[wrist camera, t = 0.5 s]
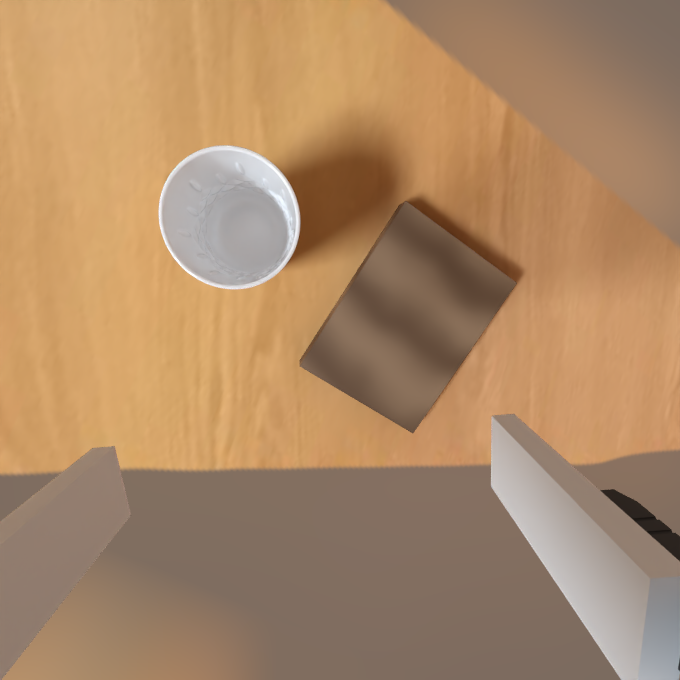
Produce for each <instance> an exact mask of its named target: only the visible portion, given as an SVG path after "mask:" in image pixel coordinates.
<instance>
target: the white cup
mask: <svg viewBox="0 0 680 680" xmlns="http://www.w3.org/2000/svg"><path fill="white" fill-rule="evenodd" d="M159 223H160V228H161V232H162V236H163V239H164V241H165V244H166V246H167V248H168V249H169V251H170V253H171V254H172V256H173V257H174V259H175V260H176V261H177V262H178V264H179V265H180V266H181V267H182V268H183V269H184V270H186V271H187V272H188V273H189V274H191V275H192V276H193V277H195V278H197V279H198V280H200V281H202V282H204V283H206V284H209V285H212V286H215V287H219V288H224V289H245V288H250V287H254V286H257V285H259V284H262V283H264V282H266V281H268V280H269V279H271V278H272V277H274V276H275V275H276V274H278V273H279V272H280V271H281V270H282V269H283V268H284V267H285V265H286V264H287V263H288V261H289V260H290V258H291V257H292V255H293V253H294V251H295V248H296V246H297V243H298V239H299V234H300V210H299V205H298V201H297V198H296V195H295V193H294V191H293V189H292V187H291V185H290V183H289V181H288V180H287V178H286V177H285V176H284V174H283V173H282V172H281V171H280V170H279V169H278V168H277V167H276V166H275V165H274V164H273V163H272V162H271V161H269V160H268V159H266V158H265V157H263V156H262V155H260V154H258V153H256V152H254V151H251V150H249V149H246V148H242V147H237V146H229V145H221V146H212V147H208V148H204V149H202V150H199V151H197V152H195V153H193V154H191V155H189V156H188V157H186V158H185V159H184V160H182V161H181V162H180V163H179V164H178V165H177V166H176V167H175V168H174V170H173V171H172V172H171V174H170V175H169V177H168V179H167V180H166V182H165V185H164V187H163V190H162V193H161V197H160V202H159Z"/></svg>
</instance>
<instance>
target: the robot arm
mask: <svg viewBox="0 0 680 680" xmlns="http://www.w3.org/2000/svg"><path fill="white" fill-rule="evenodd" d="M491 487H492V488H493V490H494V491H495V493H496V494H497V496H498V497H499V498H500V500H501V502H502V503H503V505H504V506H505V508H506V509H507V511H508V512H509V514H510V515H511V517H512V518H513V520H514V521H515V523H516V524H517V526H518V527H519V528H520V530H521V531H522V533H523V534H524V536H525V537H526V539H527V540H528V542H529V543H530V545H531V546H532V548H533V549H534V551H535V552H536V554H537V555H538V557H539V558H540V560H541V561H542V563H543V564H544V566H545V567H546V568H547V570H548V572H549V573H550V575H551V576H552V578H553V579H554V580H555V582H556V583H557V585H558V586H559V588H560V589H561V591H562V592H563V594H564V595H565V597H566V598H567V600H568V601H569V603H570V604H571V606H572V607H573V609H574V610H575V612H576V613H577V615H578V616H579V617H580V619H581V621H582V622H583V624H584V625H585V627H586V628H587V629H588V631H589V632H590V634H591V635H592V637H593V638H594V640H595V641H596V643H597V644H598V646H599V647H600V648H601V650H602V652H603V653H604V655H605V656H606V658H607V659H608V661H609V662H610V664H611V665H612V667H613V668H614V669H615V671H616V672H617V674H618V675H619V677H620V678H621V680H679V674H680V536H679V535H677V534H676V533H672V531H671V529H670V528H669V527H668V526H666V525H665V524H664V523H662V522H661V521H660V520H657V519H656V518H655V516H654V515H653V514H651V513H650V512H649V511H648V510H647V509H646V508H644V507H643V506H642V505H641V504H639V503H638V502H637V501H635V500H633V499H631V498H629V497H627V496H625V495H623V494H621V493H619V492H617V491H616V490H613V489H612V490H599V489H598V488H597V487H595V486H594V485H593V484H592V483H591V482H590V481H589V480H587V479H586V478H585V477H584V476H583V475H582V474H581V473H580V472H578V471H577V470H576V469H575V468H574V467H573V466H572V465H571V464H570V463H568V462H567V461H566V460H565V459H564V458H563V457H562V456H561V455H560V454H558V453H557V452H556V451H555V450H554V449H553V448H552V447H551V446H549V445H548V444H547V443H546V442H545V441H544V440H543V439H542V438H540V437H539V436H538V435H537V434H536V433H535V432H534V431H533V430H531V429H530V428H529V427H528V426H527V425H526V424H525V423H524V422H522V421H521V420H520V419H519V418H518V417H517V416H516V415H515V414H507V415H495V416H492V441H491ZM130 516H131V513H130V509H129V505H128V501H127V497H126V492H125V488H124V484H123V480H122V475H121V471H120V467H119V463H118V458H117V454H116V450H115V446H112V447H100V448H92V449H91V450H90V451H88V452H87V453H86V454H85V455H83V456H82V457H81V458H80V459H78V460H77V461H76V462H75V463H73V464H72V465H71V466H70V467H68V468H67V469H66V470H65V471H63V472H62V473H61V474H60V475H58V476H57V477H56V478H54V479H53V480H52V481H51V482H49V483H48V484H47V485H46V486H44V487H43V488H42V489H41V490H39V491H38V492H37V493H36V494H34V495H33V496H32V497H31V498H29V499H28V500H27V501H26V502H24V503H23V504H22V505H21V506H19V507H18V508H17V509H16V510H14V511H13V512H12V513H11V514H9V515H8V516H7V517H5V518H4V519H3V520H2V521H1V522H0V680H2V678H3V677H4V676H5V675H6V673H7V672H8V671H9V669H10V668H11V667H12V666H13V664H14V663H15V662H16V661H17V659H18V658H19V657H20V656H21V654H22V653H23V652H24V650H25V649H26V648H27V647H28V645H29V644H30V643H31V642H32V640H33V639H34V638H35V636H36V635H37V634H38V633H39V631H40V630H41V629H42V628H43V626H44V625H45V624H46V622H47V621H48V620H49V619H50V617H51V616H52V615H53V614H54V612H55V611H56V610H57V608H58V607H59V606H60V604H61V603H62V602H63V601H64V600H65V598H66V597H67V596H68V594H69V593H70V592H71V591H72V589H73V588H74V587H75V586H76V584H77V583H78V582H79V581H80V579H81V578H82V577H83V575H84V574H85V573H86V572H87V570H88V569H89V568H90V567H91V565H92V564H93V563H94V561H95V560H96V559H97V558H98V556H99V555H100V554H101V553H102V551H103V550H104V549H105V547H106V546H107V545H108V544H109V542H110V541H111V540H112V539H113V537H114V536H115V535H116V533H117V532H118V531H119V530H120V528H121V527H122V526H123V525H124V523H125V522H126V521H127V519H128V518H129V517H130Z"/></svg>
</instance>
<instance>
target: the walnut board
mask: <svg viewBox="0 0 680 680" xmlns="http://www.w3.org/2000/svg"><path fill="white" fill-rule="evenodd" d="M516 284H517V283H516V282H515V281H513V280H512V279H511V278H509V277H508V276H507V275H505V274H504V273H503V272H501V271H500V270H499V269H497V268H496V267H495V266H493V265H492V264H490V263H489V262H488V261H486V260H485V259H484V258H482V257H481V256H480V255H478V254H477V253H476V252H474V251H473V250H472V249H470V248H469V247H467V246H466V245H465V244H463V243H462V242H461V241H459V240H458V239H457V238H455V237H454V236H453V235H451V234H450V233H448V232H447V231H446V230H444V229H443V228H442V227H440V226H439V225H438V224H436V223H435V222H434V221H432V220H431V219H430V218H428V217H427V216H425V215H424V214H423V213H421V212H420V211H419V210H417V209H416V208H415V207H413V206H412V205H411V204H409V203H408V202H407V201H405V202H404V203H402V204H400V205H399V206H398V208H397V210H396V211H395V213H394V214H393V216H392V217H391V219H390V220H389V222H388V224H387V225H386V227H385V228H384V230H383V231H382V233H381V235H380V236H379V238H378V239H377V241H376V242H375V244H374V245H373V247H372V249H371V250H370V252H369V253H368V255H367V256H366V258H365V259H364V261H363V263H362V264H361V266H360V267H359V269H358V270H357V272H356V274H355V275H354V277H353V278H352V280H351V281H350V283H349V284H348V286H347V288H346V289H345V291H344V292H343V294H342V295H341V297H340V298H339V300H338V302H337V303H336V305H335V306H334V308H333V309H332V311H331V313H330V314H329V316H328V317H327V319H326V320H325V322H324V323H323V325H322V327H321V328H320V330H319V331H318V333H317V334H316V336H315V337H314V339H313V341H312V342H311V344H310V345H309V347H308V348H307V350H306V352H305V353H304V355H303V356H302V358H301V359H300V367H302V368H304V369H305V370H307V371H309V372H310V373H312V374H314V375H315V376H317V377H319V378H320V379H322V380H324V381H326V382H327V383H329V384H331V385H332V386H334V387H336V388H337V389H339V390H341V391H342V392H344V393H346V394H347V395H349V396H351V397H353V398H354V399H356V400H358V401H359V402H361V403H363V404H364V405H366V406H368V407H369V408H371V409H373V410H374V411H376V412H378V413H379V414H381V415H383V416H385V417H386V418H388V419H390V420H391V421H393V422H395V423H396V424H398V425H400V426H401V427H403V428H405V429H406V430H408V431H410V432H412V433H414V431H415V430H416V428H417V427H418V426H419V424H420V423H421V421H422V420H423V418H424V417H425V415H426V414H427V413H428V411H429V410H430V408H431V407H432V405H433V404H434V402H435V401H436V400H437V398H438V397H439V395H440V394H441V392H442V391H443V389H444V388H445V386H446V385H447V384H448V382H449V381H450V379H451V378H452V376H453V375H454V373H455V372H456V371H457V369H458V368H459V366H460V365H461V363H462V362H463V360H464V359H465V358H466V356H467V355H468V353H469V352H470V350H471V349H472V347H473V346H474V345H475V343H476V342H477V340H478V339H479V337H480V336H481V334H482V333H483V331H484V330H485V329H486V327H487V326H488V324H489V323H490V321H491V320H492V318H493V317H494V316H495V314H496V313H497V311H498V310H499V308H500V307H501V305H502V304H503V303H504V301H505V300H506V298H507V297H508V295H509V294H510V292H511V291H512V289H513V288H514V287H515V285H516Z"/></svg>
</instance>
